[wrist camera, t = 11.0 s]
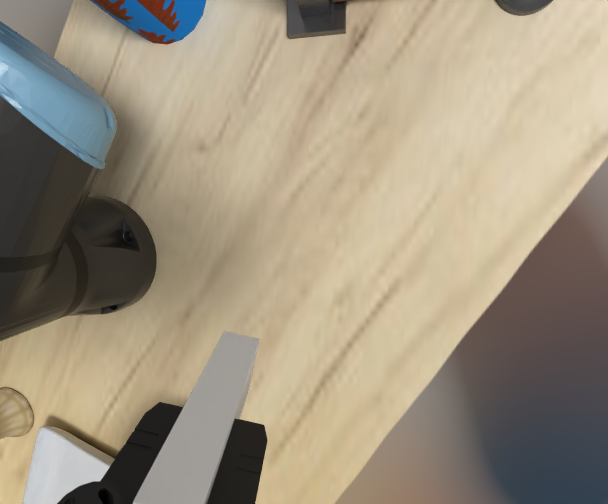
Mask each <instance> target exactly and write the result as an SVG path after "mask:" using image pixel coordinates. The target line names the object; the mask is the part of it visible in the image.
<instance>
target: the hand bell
mask: <svg viewBox="0 0 608 504" xmlns="http://www.w3.org/2000/svg"><path fill="white" fill-rule="evenodd" d="M33 420H34V419H33V412H32V409H31V407H30V405H29V403H28V401H27V400H26V399H25V398H24V397H23V396H22V395H21V394H20V393H18V392H17V391H15V390H13V389H10V388H0V439H1V438H5V437H19V436H23V435H25V434H27V433H28V432H29V431H30V430H31V428H32V425H33Z"/></svg>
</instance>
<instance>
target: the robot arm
mask: <svg viewBox="0 0 608 504" xmlns="http://www.w3.org/2000/svg"><path fill="white" fill-rule="evenodd" d="M116 131H117V119H116V116H115V114H114V112H113V110H112V108H111V107H110V106H109V104H108V103H107V102H106V101H105V100H104V99H103V98H102V97H101V96H100V95H99V94H98V93H97V92H96V91H95V90H94V89H92V88H91V87H90V86H89V85H88V84H86V83H85V82H84V81H83V80H81V79H80V78H79V77H78V76H76V75H75V74H74V73H72V72H71V71H70V70H68V69H67V68H66V67H65V66H63V65H62V64H61V63H59V62H58V61H57V60H55V59H54V58H52V57H51V56H49V55H48V54H47V53H45V52H44V51H43V50H41V49H40V48H38V47H37V46H36V45H34V44H33V43H31V42H30V41H28V40H27V39H26V38H24V37H23V36H21V35H20V34H18V33H17V32H15V31H14V30H12V29H11V28H9V27H8V26H6V25H5V24H3V23H2V22H0V341H2V340H5V339H7V338H10V337H13V336H15V335H18V334H20V333H23V332H26V331H28V330H31V329H33V328H36V327H39V326H41V325H44V324H46V323H49V322H52V321H54V320H57V319H59V318H62V317H64V316H71V315H93V314H107V313H112V312H116V311H119V310H121V309H123V308H126V307H128V306H130V305H132V304H134V303H136V302H137V301H138V300H140V299H141V298H142V297H143V296H144V295H145V293H146V292H147V291H148V289H149V287H150V285H151V283H152V281H153V278H154V274H155V269H156V253H155V247H154V243H153V240H152V237H151V235H150V232H149V230H148V228H147V227H146V225H145V224H144V222H143V221H142V219H141V218H140V217H139V216H138V215H137V214H136V213H135V212H134V211H133V210H132V209H131V208H129V207H128V206H127V205H125V204H123V203H121V202H119V201H117V200H114V199H111V198H106V197H88V195H89V193H90V191H91V189H92V187H93V185H94V183H95V181H96V179H97V177H98V175H99V173H100V171H101V169H104V168H105V166H106V161H105V159H106V156H107V154H108V151H109V149H110V146H111V144H112V142H113V139H114V137H115V134H116ZM258 344H259V339H257V338H253V337H249V336H244V335H240V334H236V333H232V332H227V331H224V333H223V334H222V336H221V338H220V340H219V342H218V344H217V346H216V348H215V349H214V351H213V353H212V355H211V357H210V359H209V361H208V362H207V364H206V366H205V368H204V370H203V372H202V374H201V376H200V377H199V379H198V381H197V383H196V385H195V387H194V389H193V391H192V392H191V394H190V396H189V398H188V400H187V402H186V404H185V406H184V407H179V406H175V405H170V404H166V403H162V402H159V403H158V404H157V405H155V406H154V407H153V408H152V409H150V410H149V411H148V412H146V413H145V415H144V416H143V418H142V419H141V421H140V422H139V424H138V425H137V427H136V428H135V431H134V432H133V433H132V434H131V436H130V437H129V439H128V440H127V442H126V444H125V445H124V446H123V448H122V449H121V451H120V452H119V454H118V455H117V457H116V458H115V460H114V461H113V463H112V464H111V466H110V467H109V469H108V470H107V472H106V473H105V475H104V476H103V478H102V479H101V481H93V482H90V483H87V484H84V485H80V486H78V487H77V488H75V489H74V490H72V491H71V492H69V493H67V494H66V495H65V496H64V497H63V498H62V499H61V500H60V501H59V502H58V503H57V504H255V501H256V496H257V491H258V486H259V481H260V475H261V470H262V465H263V460H264V455H265V450H266V445H267V436H266V432H265V427H264V425H262V424H257V423H253V422H249V421H244V420H240V416H241V413H242V410H243V406H244V403H245V400H246V397H247V394H248V390H249V386H250V382H251V377H252V372H253V367H254V363H255V358H256V353H257V348H258Z"/></svg>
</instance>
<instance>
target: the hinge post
mask: <svg viewBox="0 0 608 504" xmlns="http://www.w3.org/2000/svg"><path fill="white" fill-rule="evenodd" d="M496 1H497V3H498V4H499V6H500V7H501V8H502V9H503V10H505V11H506V12H508V13H511V14H514V15H529V14H533V13H536V12H538V11H540V10H542V9H544V8H545V7H546V6H548V5H549V4H550V3H551V2H552V1H553V0H496Z"/></svg>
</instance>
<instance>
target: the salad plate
mask: <svg viewBox="0 0 608 504" xmlns="http://www.w3.org/2000/svg"><path fill="white" fill-rule="evenodd" d="M114 460H115V459H114V458H112V457H111V456H109V455H107V454H105V453H103V452H101V451H100V450H98V449H96V448H94V447H93V446H91V445H89V444H87V443H85V442H84V441H82V440H80V439H78V438H77V437H75V436H73V435H72V434H70V433H68V432H66V431H64V430H62V429H59V428H56V427H51V426H44V427H41V428H40V429H39V431H38V434H37V438H36V442H35V446H34V451H33V455H32V460H31V465H30V469H29V474H28V480H27V484H26V489H25V494H24V498H23V503H22V504H57V503H58V502H59V501H60V500H61V499H62V498H63V497H64V496H65V495H66V494H67V493H69V492H71V491H72V490H74V489H75V488H77V487H78V486H80V485H84V484H87V483H90V482H93V481H101V479H102V478H103V476H104V475H105V473H106V472H107V470H108V469H109V467H110V466H111V464H112V463H113V461H114Z"/></svg>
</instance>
